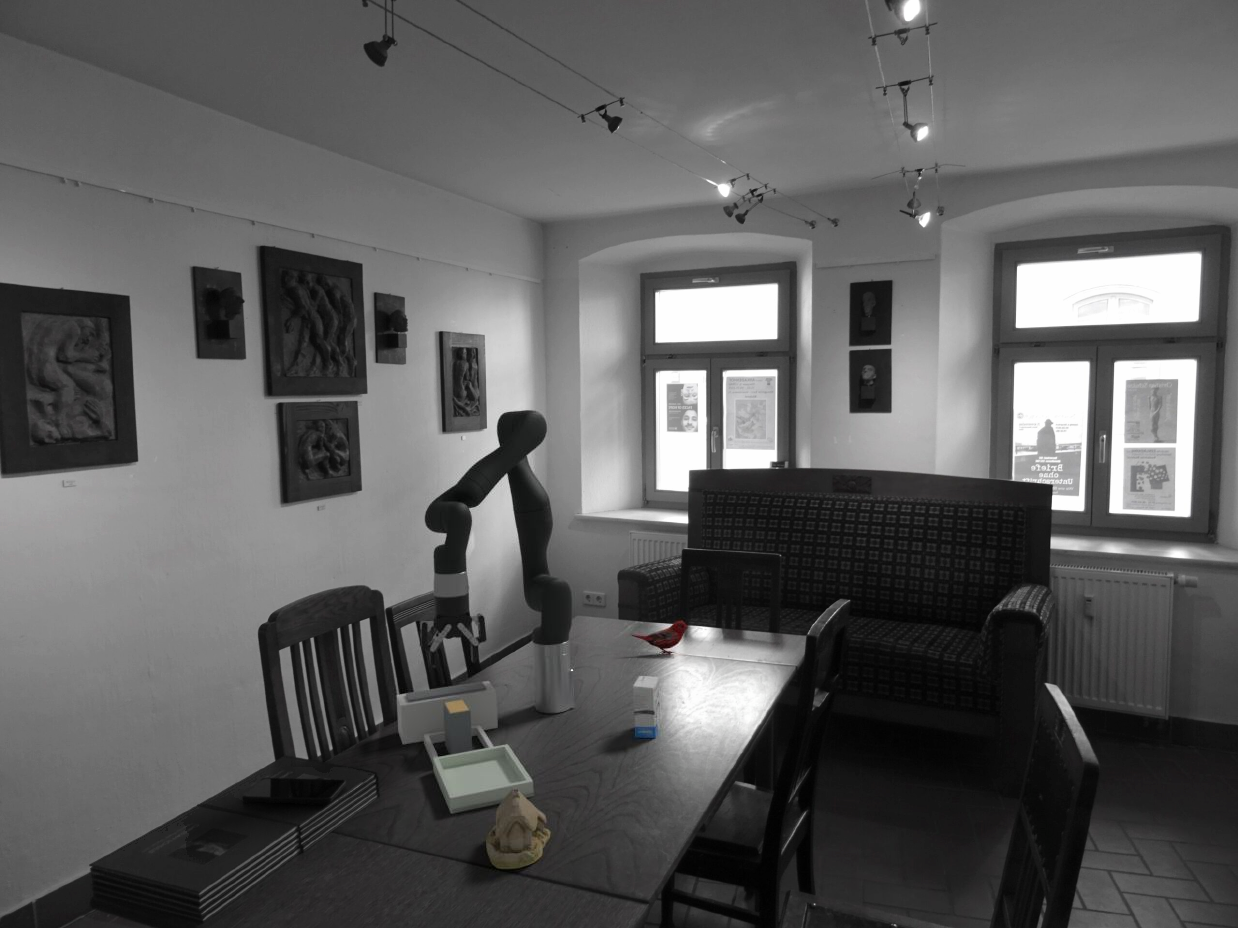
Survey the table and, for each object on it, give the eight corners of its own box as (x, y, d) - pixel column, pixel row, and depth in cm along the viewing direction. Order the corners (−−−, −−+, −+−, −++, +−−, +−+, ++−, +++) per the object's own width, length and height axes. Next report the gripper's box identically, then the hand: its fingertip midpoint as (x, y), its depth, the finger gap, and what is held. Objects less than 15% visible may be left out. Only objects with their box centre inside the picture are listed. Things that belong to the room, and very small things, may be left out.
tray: (508, 757, 179) (507, 744, 179) (533, 796, 160) (533, 781, 160) (433, 771, 173) (432, 757, 173) (451, 813, 154) (450, 797, 154)
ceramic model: (487, 829, 148) (484, 775, 148) (549, 824, 150) (547, 770, 149) (483, 873, 134) (480, 813, 134) (552, 866, 136) (549, 807, 135)
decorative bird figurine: (689, 654, 250) (688, 621, 249) (631, 656, 250) (630, 623, 250) (689, 651, 253) (688, 619, 252) (631, 653, 253) (630, 621, 252)
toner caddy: (465, 742, 188) (463, 698, 188) (472, 755, 181) (470, 710, 180) (445, 745, 187) (443, 702, 186) (451, 758, 179) (449, 713, 179)
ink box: (655, 738, 186) (653, 687, 186) (633, 737, 187) (632, 687, 187) (661, 724, 195) (659, 675, 194) (640, 723, 196) (638, 674, 195)
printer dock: (490, 716, 204) (488, 678, 203) (515, 753, 181) (513, 710, 180) (398, 732, 196) (396, 692, 195) (413, 772, 173) (410, 727, 172)
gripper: (479, 585, 188) (482, 655, 189) (415, 592, 183) (419, 664, 184) (487, 591, 181) (490, 664, 182) (420, 598, 176) (424, 673, 177)
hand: (454, 664), depth 183 cm, fingers open, 8 cm apart
